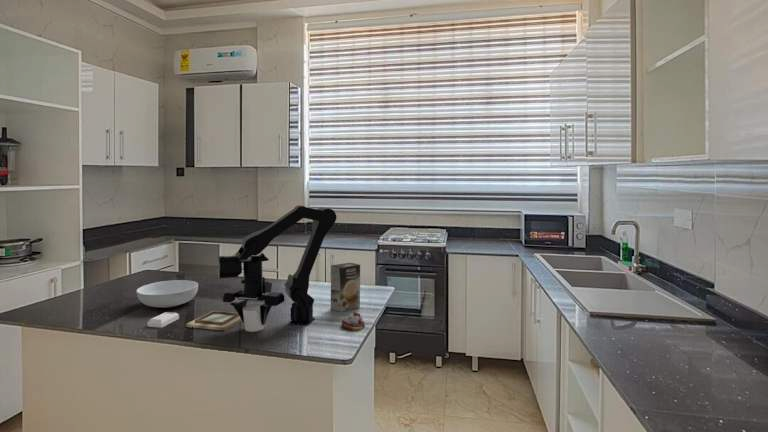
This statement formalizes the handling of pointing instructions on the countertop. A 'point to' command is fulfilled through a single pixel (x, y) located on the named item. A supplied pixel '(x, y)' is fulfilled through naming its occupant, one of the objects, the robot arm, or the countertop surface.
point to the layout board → (216, 320)
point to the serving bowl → (167, 293)
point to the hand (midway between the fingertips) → (254, 323)
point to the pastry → (353, 322)
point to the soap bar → (163, 319)
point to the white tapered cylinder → (252, 318)
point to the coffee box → (345, 286)
